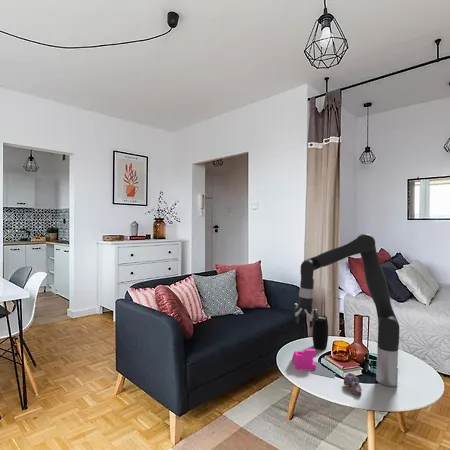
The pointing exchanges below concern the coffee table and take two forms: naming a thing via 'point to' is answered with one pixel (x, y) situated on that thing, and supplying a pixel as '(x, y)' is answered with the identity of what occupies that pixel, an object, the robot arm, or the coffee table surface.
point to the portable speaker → (320, 332)
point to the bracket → (304, 359)
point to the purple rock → (352, 383)
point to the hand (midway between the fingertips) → (304, 325)
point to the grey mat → (322, 371)
